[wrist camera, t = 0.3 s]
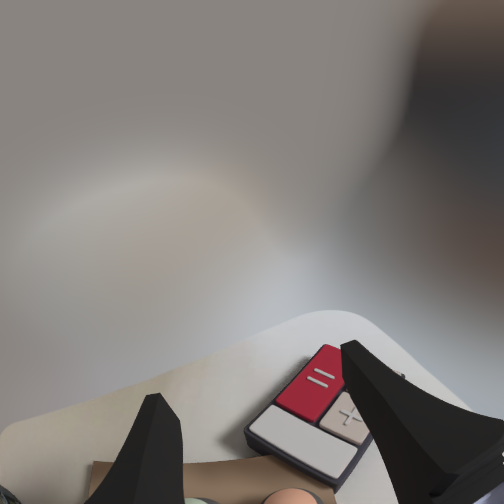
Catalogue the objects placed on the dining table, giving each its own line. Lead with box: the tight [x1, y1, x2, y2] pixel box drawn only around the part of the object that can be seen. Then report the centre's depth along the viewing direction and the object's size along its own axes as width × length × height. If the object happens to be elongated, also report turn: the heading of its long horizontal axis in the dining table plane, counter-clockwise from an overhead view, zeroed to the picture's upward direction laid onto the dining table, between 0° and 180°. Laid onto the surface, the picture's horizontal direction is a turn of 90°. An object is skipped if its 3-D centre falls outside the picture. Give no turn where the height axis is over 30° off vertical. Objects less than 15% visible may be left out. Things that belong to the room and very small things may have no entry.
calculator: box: [244, 344, 405, 494], centre depth 29 cm, size 11×4×15 cm
